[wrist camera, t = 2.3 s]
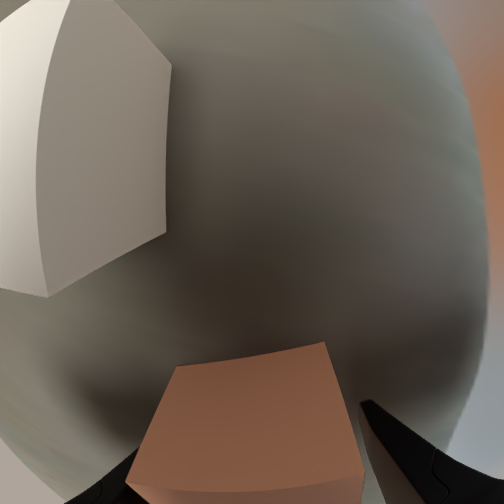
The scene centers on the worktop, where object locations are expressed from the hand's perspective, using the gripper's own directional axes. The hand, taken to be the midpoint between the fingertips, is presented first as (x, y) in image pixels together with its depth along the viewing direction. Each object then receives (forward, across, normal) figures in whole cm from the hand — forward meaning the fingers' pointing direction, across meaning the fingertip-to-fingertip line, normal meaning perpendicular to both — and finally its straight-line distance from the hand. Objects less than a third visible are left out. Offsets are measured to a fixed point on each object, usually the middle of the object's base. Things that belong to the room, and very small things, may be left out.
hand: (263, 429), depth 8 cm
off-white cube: (+1, +3, -10) cm, 11 cm away
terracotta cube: (+1, 0, 0) cm, 1 cm away
